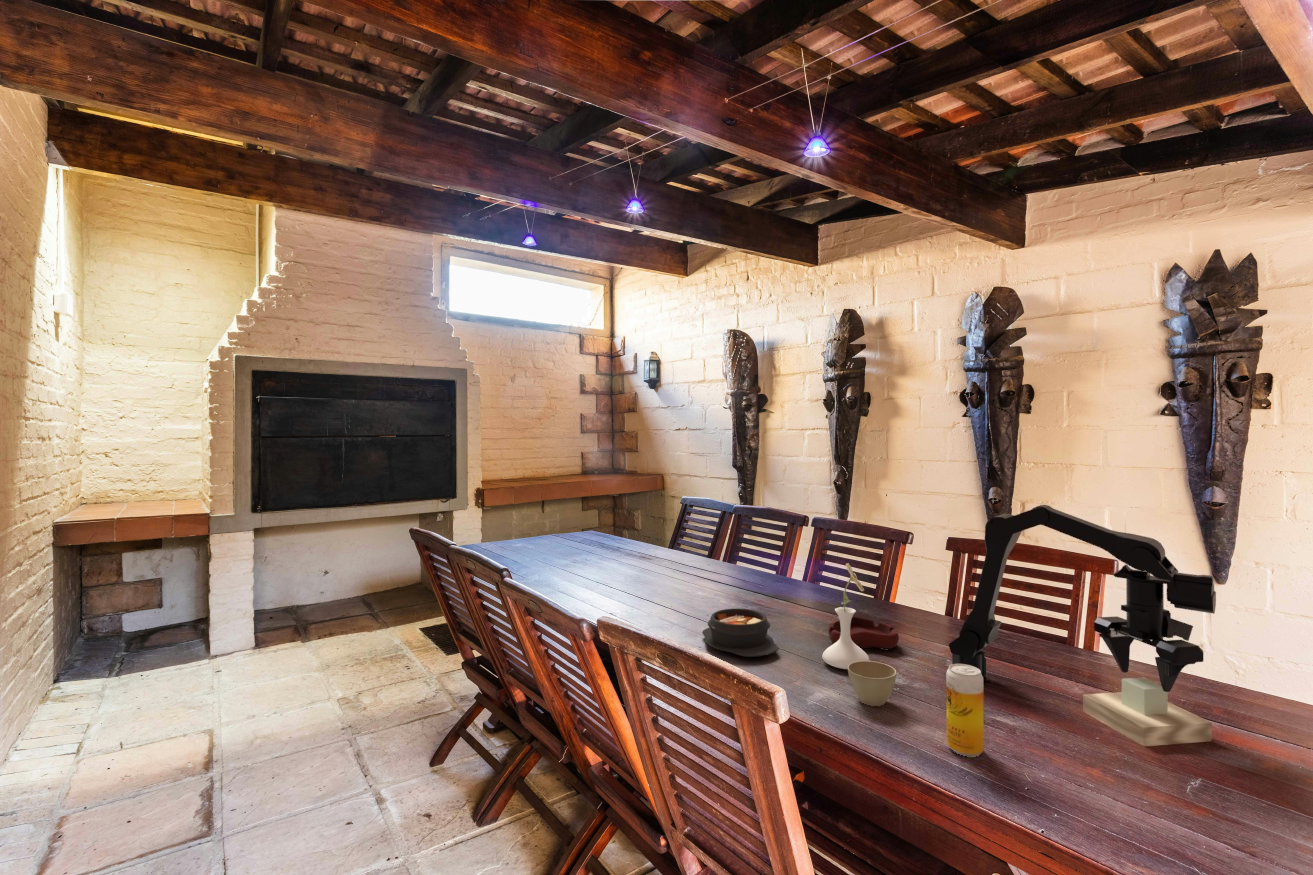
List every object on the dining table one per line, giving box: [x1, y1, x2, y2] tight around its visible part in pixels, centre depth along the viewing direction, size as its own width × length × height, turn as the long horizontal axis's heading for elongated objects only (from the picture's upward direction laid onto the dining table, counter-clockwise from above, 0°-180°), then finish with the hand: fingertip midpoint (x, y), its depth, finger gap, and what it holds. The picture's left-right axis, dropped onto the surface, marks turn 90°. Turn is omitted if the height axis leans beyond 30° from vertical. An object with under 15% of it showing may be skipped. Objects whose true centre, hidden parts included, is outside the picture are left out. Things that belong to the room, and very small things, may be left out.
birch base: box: [1082, 691, 1213, 747], centre depth 121 cm, size 14×14×4 cm
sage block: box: [1121, 676, 1169, 715], centre depth 120 cm, size 5×5×5 cm
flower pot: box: [847, 660, 897, 707], centre depth 133 cm, size 10×10×7 cm
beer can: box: [945, 664, 985, 758], centre depth 113 cm, size 6×6×15 cm
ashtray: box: [827, 615, 900, 650], centre depth 169 cm, size 18×16×5 cm
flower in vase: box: [821, 562, 871, 670], centre depth 154 cm, size 13×11×25 cm
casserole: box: [702, 608, 780, 658], centre depth 167 cm, size 25×19×8 cm
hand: (1144, 681), depth 120 cm, fingers open, 9 cm apart
